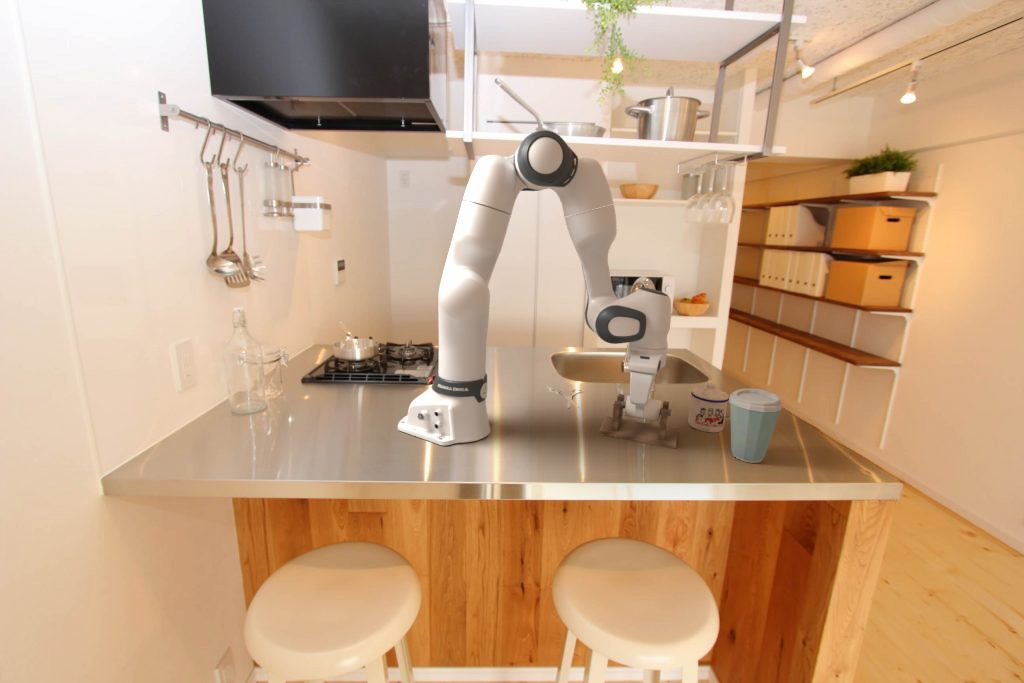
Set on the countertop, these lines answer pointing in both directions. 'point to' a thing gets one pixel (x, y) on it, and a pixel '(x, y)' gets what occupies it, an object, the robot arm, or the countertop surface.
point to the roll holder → (639, 427)
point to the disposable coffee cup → (752, 422)
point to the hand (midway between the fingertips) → (640, 411)
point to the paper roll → (645, 409)
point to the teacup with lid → (708, 408)
